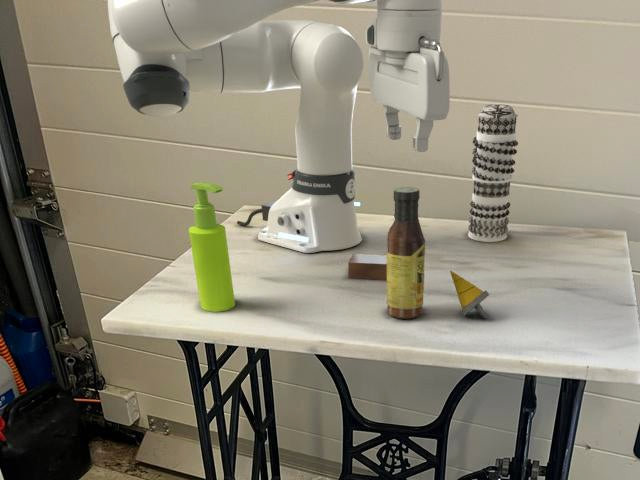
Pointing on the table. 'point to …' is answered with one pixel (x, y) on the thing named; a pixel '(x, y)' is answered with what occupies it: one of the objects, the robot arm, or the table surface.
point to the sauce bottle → (405, 257)
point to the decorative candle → (492, 173)
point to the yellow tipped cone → (469, 295)
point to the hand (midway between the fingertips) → (406, 144)
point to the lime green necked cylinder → (210, 253)
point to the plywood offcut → (368, 267)
